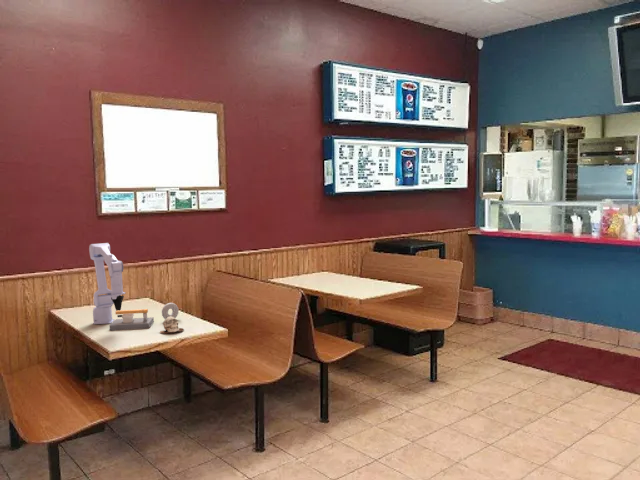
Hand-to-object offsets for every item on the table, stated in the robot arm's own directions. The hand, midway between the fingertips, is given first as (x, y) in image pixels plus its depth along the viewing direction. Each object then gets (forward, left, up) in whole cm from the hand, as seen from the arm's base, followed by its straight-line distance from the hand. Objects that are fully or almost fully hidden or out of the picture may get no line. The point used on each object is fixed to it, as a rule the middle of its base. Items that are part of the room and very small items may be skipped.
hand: (118, 310), depth 287 cm
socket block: (+5, +7, -10) cm, 13 cm away
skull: (+28, -10, -11) cm, 32 cm away
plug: (+2, +7, -11) cm, 13 cm away
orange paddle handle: (+5, +7, -3) cm, 9 cm away
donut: (+24, +15, -11) cm, 30 cm away
